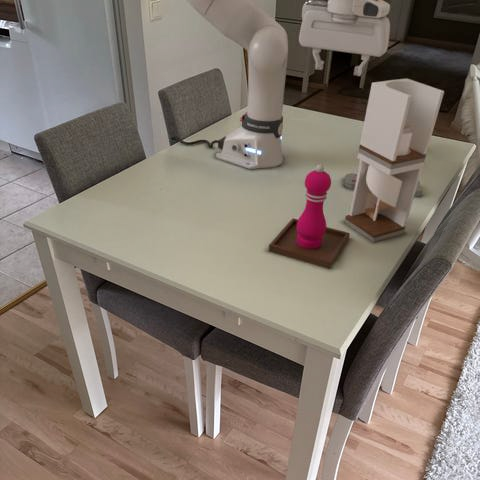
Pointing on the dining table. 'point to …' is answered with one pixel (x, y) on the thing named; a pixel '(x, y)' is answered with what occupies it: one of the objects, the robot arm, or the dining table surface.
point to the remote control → (351, 178)
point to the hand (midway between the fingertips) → (337, 72)
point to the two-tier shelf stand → (392, 155)
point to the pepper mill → (313, 209)
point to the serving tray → (319, 256)
